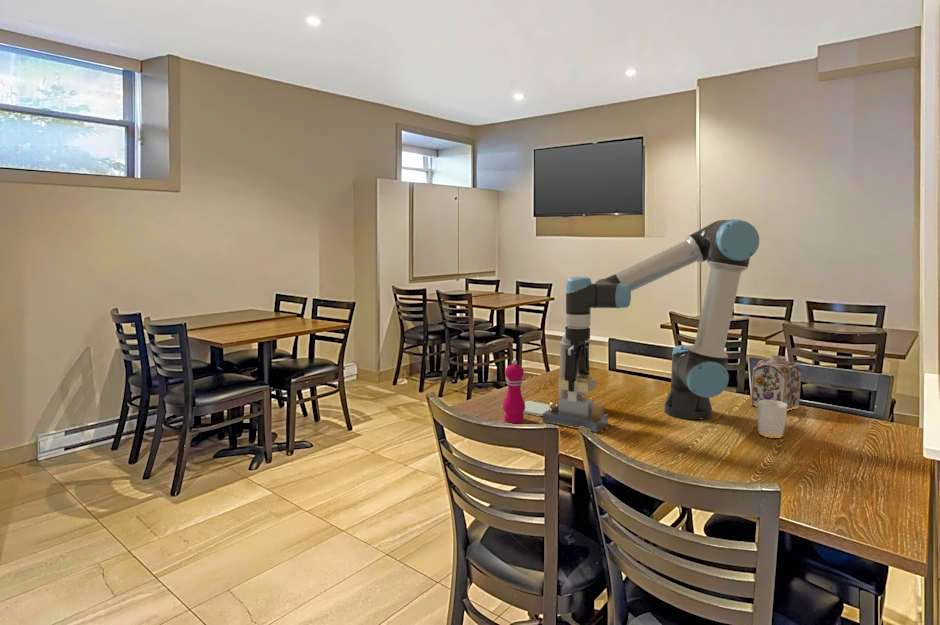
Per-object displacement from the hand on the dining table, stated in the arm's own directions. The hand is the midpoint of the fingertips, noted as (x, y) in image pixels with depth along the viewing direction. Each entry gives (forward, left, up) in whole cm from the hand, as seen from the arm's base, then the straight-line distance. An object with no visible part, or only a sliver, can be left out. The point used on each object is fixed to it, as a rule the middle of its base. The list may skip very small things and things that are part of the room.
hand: (577, 397), depth 188 cm
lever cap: (0, 0, +3) cm, 3 cm away
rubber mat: (+17, -5, -8) cm, 20 cm away
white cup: (-54, -21, -9) cm, 58 cm away
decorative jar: (-52, -53, -9) cm, 74 cm away
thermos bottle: (+9, -17, -9) cm, 21 cm away
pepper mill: (+18, +8, -9) cm, 22 cm away
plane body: (0, 0, -8) cm, 8 cm away
